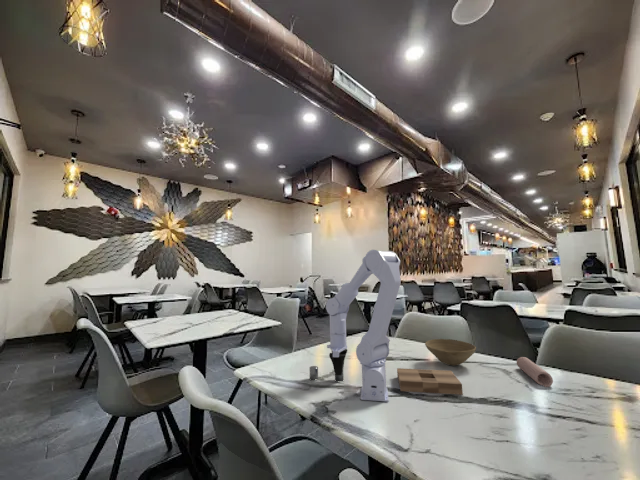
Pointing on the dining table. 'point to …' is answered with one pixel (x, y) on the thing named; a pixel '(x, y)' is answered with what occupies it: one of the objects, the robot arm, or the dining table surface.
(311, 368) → the short pin
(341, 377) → the tall pin
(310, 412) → the dining table surface
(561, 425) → the dining table surface
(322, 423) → the dining table surface
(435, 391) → the hole plate
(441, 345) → the bowl
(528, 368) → the coil
